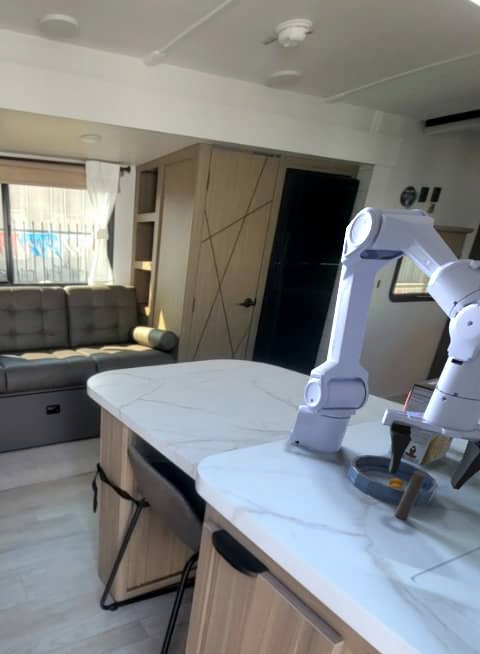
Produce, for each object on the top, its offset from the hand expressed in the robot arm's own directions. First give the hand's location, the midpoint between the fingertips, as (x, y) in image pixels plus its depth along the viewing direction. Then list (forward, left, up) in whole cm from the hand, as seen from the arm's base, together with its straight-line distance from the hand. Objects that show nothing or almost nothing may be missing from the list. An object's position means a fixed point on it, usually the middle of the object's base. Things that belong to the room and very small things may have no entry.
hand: (422, 478), depth 60 cm
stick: (-1, -2, -8) cm, 8 cm away
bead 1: (-1, +9, -6) cm, 11 cm away
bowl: (-2, +8, -8) cm, 11 cm away
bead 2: (-1, +7, -6) cm, 9 cm away
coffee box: (+4, +25, -8) cm, 26 cm away
